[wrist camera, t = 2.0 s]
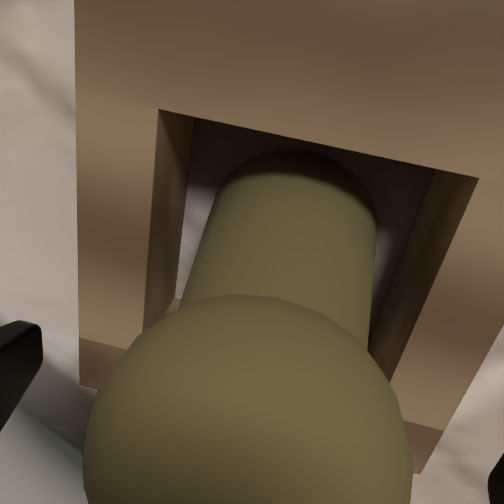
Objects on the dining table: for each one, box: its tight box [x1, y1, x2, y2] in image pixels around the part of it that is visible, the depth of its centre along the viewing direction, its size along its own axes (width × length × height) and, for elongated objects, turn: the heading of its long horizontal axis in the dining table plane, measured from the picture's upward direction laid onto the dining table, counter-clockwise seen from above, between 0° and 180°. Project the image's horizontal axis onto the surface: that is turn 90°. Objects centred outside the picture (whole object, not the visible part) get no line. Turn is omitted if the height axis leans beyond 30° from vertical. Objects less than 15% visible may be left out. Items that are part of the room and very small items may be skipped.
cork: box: [82, 149, 413, 504], centre depth 10 cm, size 6×6×11 cm
